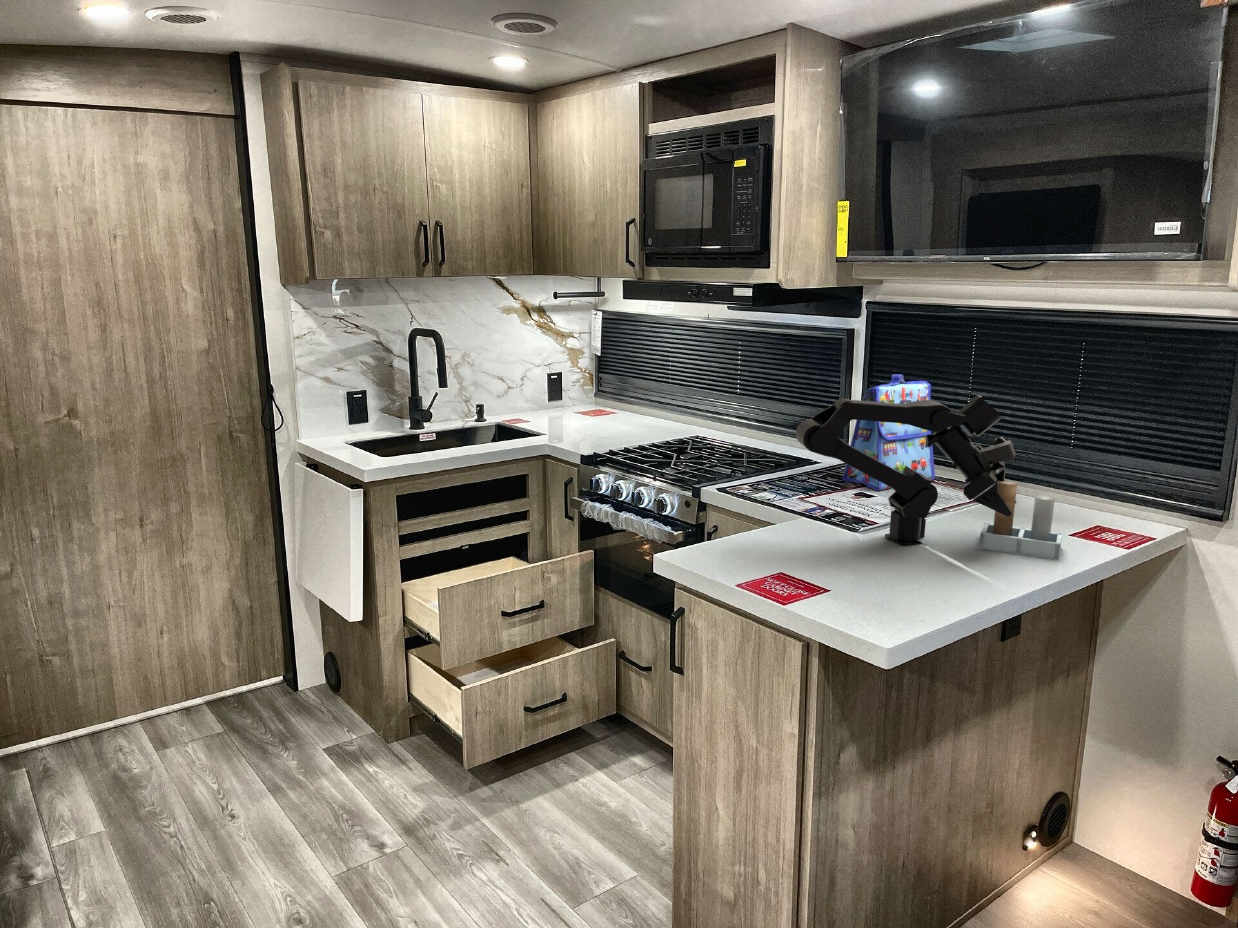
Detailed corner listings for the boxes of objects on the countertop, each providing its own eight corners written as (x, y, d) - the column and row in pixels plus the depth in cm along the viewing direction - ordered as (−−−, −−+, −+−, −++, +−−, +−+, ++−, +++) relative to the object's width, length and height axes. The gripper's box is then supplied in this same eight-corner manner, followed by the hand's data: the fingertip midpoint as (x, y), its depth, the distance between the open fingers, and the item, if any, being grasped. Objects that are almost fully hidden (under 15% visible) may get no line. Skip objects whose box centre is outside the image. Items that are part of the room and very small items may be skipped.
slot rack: (977, 551, 183) (979, 533, 183) (983, 539, 191) (985, 522, 190) (1058, 563, 177) (1060, 545, 176) (1060, 550, 184) (1063, 532, 183)
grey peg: (1037, 553, 180) (1044, 501, 177) (1025, 548, 183) (1031, 496, 181) (1052, 552, 181) (1058, 499, 178) (1039, 546, 184) (1045, 495, 182)
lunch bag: (880, 492, 228) (888, 379, 221) (840, 480, 239) (847, 373, 232) (936, 481, 239) (946, 373, 233) (896, 470, 250) (904, 368, 244)
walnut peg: (1007, 548, 183) (1014, 486, 180) (989, 544, 185) (995, 483, 182) (1012, 544, 186) (1019, 483, 183) (994, 540, 188) (1000, 480, 185)
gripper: (987, 434, 173) (1043, 497, 171) (998, 419, 189) (1049, 476, 187) (941, 469, 179) (994, 530, 176) (955, 451, 195) (1004, 507, 192)
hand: (1012, 509), depth 183 cm, fingers open, 9 cm apart
